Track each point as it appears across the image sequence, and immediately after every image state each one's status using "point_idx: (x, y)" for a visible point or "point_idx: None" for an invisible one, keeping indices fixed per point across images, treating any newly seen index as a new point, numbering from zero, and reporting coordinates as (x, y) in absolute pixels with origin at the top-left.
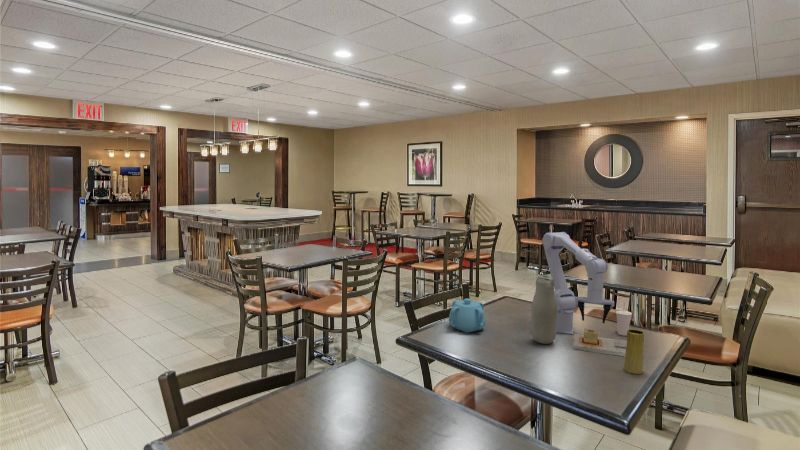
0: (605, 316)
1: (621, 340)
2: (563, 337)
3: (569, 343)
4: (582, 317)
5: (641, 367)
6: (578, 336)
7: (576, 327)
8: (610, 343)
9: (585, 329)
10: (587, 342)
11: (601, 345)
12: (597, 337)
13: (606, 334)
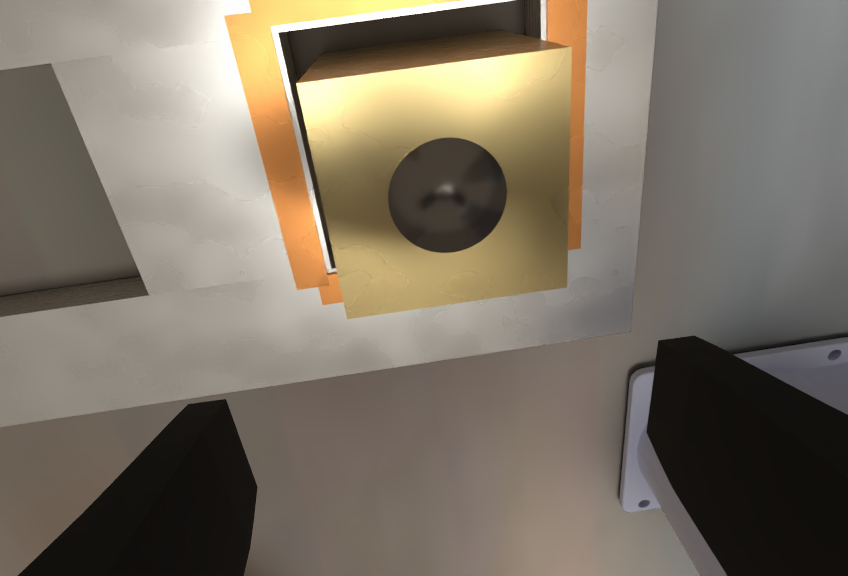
0: (55, 564)
1: (97, 397)
2: (735, 237)
3: (682, 50)
4: (751, 372)
5: None
6: (587, 263)
7: (588, 549)
8: (169, 223)
9: (549, 236)
10: (460, 41)
11: (249, 47)
12: (306, 71)
13: (321, 529)
